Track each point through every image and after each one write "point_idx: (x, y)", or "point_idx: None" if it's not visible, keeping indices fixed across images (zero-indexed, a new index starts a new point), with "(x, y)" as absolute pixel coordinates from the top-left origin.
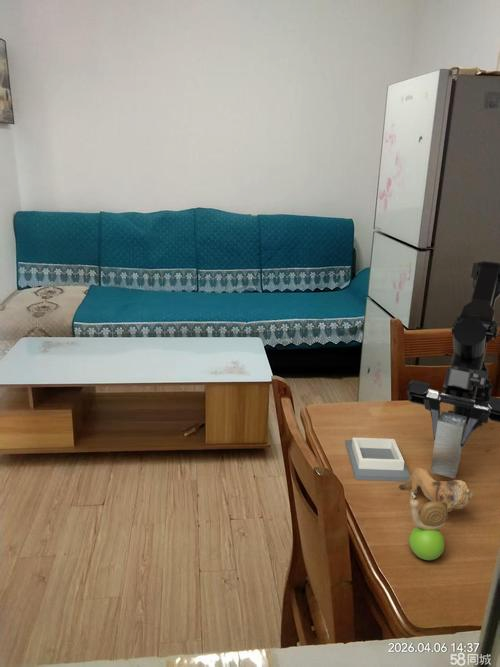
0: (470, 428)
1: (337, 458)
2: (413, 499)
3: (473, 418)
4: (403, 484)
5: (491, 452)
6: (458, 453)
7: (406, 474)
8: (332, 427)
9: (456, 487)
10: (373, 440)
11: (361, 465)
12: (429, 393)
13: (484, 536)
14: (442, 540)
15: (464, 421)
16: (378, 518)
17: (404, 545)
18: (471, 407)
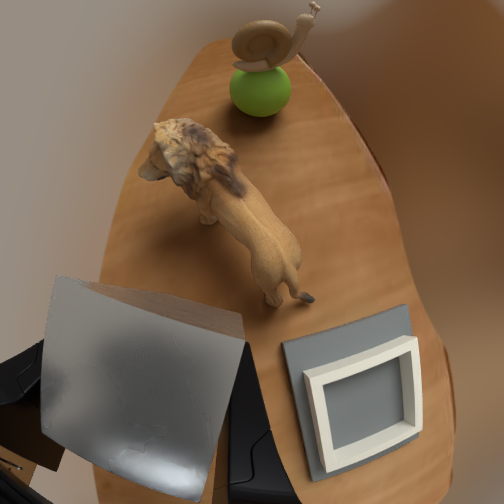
0: (41, 346)
1: (431, 372)
2: (311, 9)
3: (2, 384)
4: (305, 297)
5: (99, 479)
6: (138, 289)
7: (295, 354)
8: (424, 470)
9: (186, 120)
10: (378, 445)
11: (404, 337)
12: None
13: (140, 178)
14: (236, 71)
15: (45, 364)
16: (344, 180)
17: (291, 121)
18: (15, 480)
